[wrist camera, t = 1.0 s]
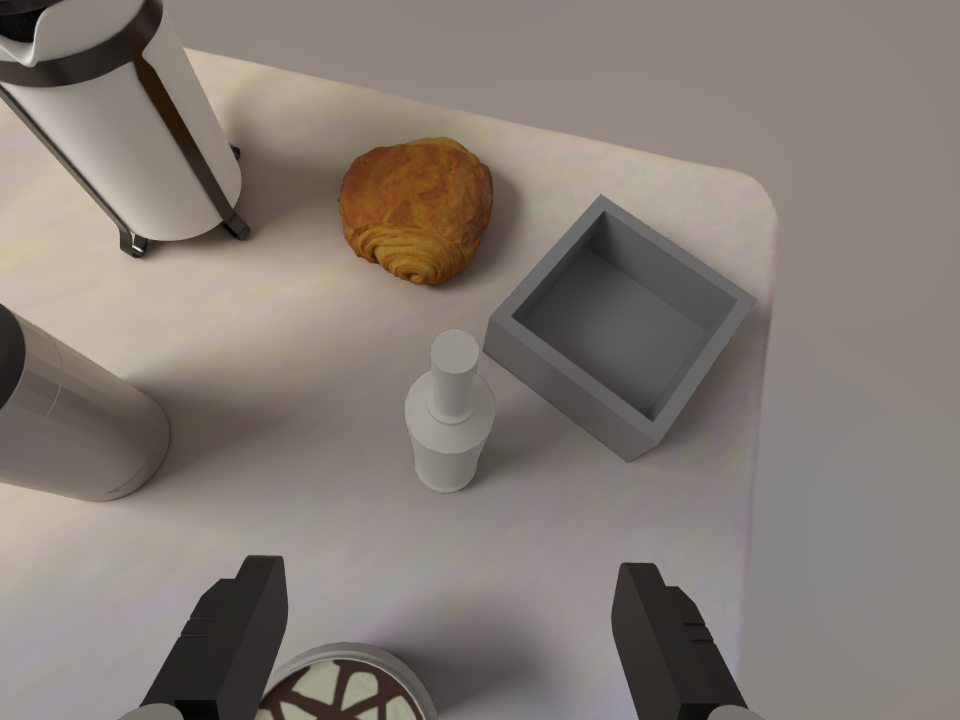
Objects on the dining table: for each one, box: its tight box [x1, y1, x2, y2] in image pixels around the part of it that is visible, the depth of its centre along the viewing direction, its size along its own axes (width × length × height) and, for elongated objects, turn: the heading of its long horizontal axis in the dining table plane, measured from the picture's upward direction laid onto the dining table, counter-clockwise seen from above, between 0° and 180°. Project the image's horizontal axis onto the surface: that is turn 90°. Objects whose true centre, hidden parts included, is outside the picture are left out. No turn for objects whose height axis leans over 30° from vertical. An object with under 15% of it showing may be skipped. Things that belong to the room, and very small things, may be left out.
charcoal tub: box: [483, 194, 757, 462], centre depth 48 cm, size 16×16×7 cm
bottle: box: [404, 329, 496, 493], centre depth 35 cm, size 5×5×25 cm
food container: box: [254, 642, 439, 720], centre depth 36 cm, size 12×6×10 cm, turn 92°
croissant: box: [338, 137, 493, 284], centre depth 52 cm, size 14×16×8 cm
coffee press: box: [0, 0, 251, 258], centre depth 40 cm, size 17×16×30 cm
